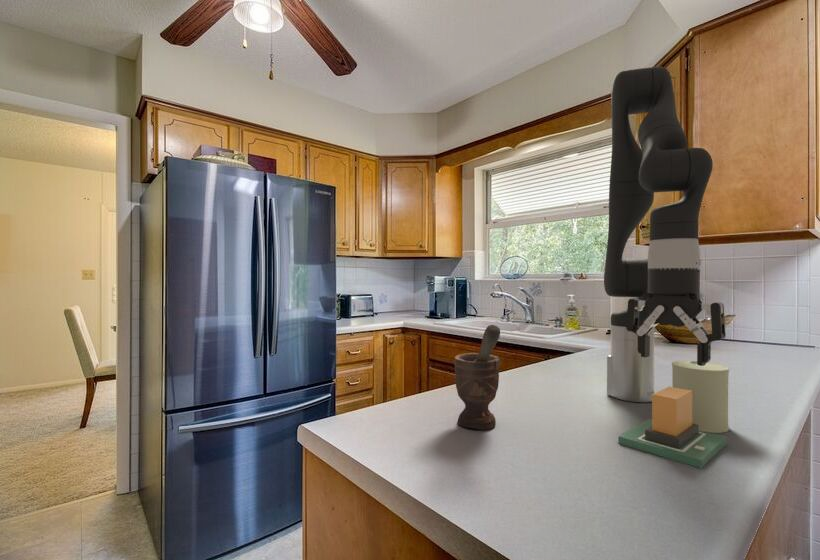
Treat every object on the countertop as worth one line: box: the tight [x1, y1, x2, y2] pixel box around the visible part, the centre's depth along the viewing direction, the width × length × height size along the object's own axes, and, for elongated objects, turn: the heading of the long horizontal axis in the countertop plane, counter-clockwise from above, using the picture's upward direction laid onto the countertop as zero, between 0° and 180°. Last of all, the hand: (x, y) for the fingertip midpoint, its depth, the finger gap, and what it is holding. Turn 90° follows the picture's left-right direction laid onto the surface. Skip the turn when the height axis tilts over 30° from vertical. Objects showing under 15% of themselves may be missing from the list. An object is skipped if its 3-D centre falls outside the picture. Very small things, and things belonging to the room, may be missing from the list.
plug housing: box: [651, 386, 692, 436], centre depth 70 cm, size 4×8×6 cm, turn 130°
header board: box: [617, 418, 727, 469], centre depth 70 cm, size 12×14×6 cm
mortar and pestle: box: [454, 324, 501, 431], centre depth 77 cm, size 12×9×20 cm
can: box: [671, 360, 730, 434], centre depth 79 cm, size 9×9×12 cm
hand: (672, 360), depth 70 cm, fingers open, 8 cm apart
